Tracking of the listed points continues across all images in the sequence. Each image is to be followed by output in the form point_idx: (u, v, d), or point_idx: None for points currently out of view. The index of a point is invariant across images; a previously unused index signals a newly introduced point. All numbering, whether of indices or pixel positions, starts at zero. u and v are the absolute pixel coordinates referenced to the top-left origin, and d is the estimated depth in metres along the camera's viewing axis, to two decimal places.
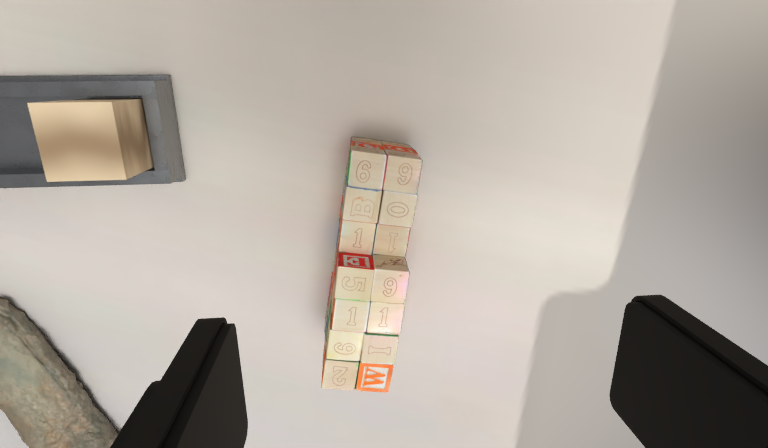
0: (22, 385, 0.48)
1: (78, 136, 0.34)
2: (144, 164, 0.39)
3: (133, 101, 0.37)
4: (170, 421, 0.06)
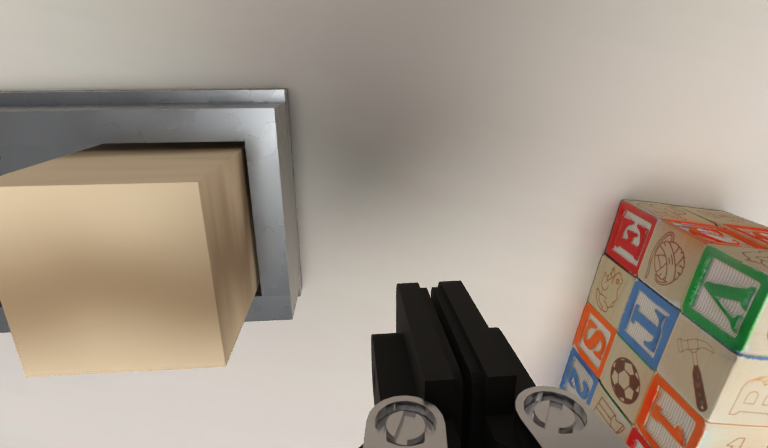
0: None
1: (105, 269, 0.13)
2: (248, 295, 0.17)
3: (232, 160, 0.15)
4: (444, 354, 0.08)
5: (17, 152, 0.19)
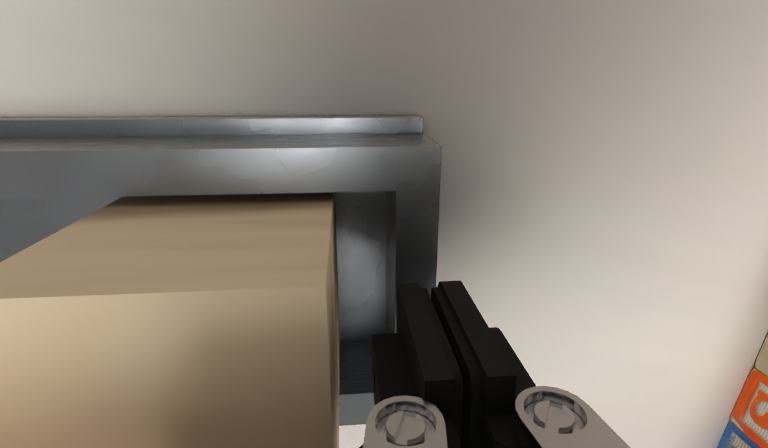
0: None
1: (164, 422, 0.08)
2: (338, 405, 0.12)
3: (331, 224, 0.11)
4: (444, 354, 0.08)
5: (68, 198, 0.14)
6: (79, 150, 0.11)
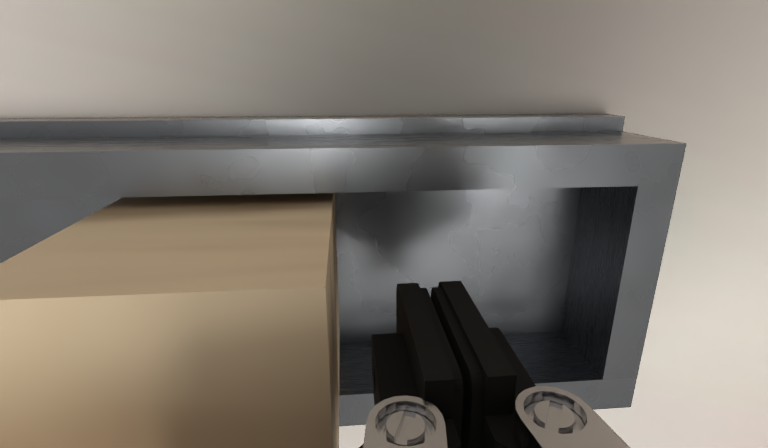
0: None
1: (164, 422, 0.08)
2: (338, 405, 0.12)
3: (331, 224, 0.11)
4: (445, 354, 0.08)
5: None
6: (357, 147, 0.12)
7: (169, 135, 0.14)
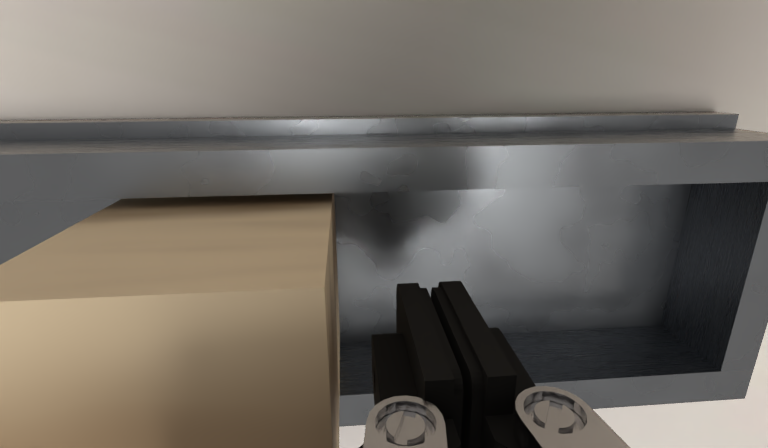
0: None
1: (163, 423, 0.08)
2: (338, 406, 0.12)
3: (330, 225, 0.11)
4: (444, 353, 0.08)
5: (410, 192, 0.15)
6: (510, 145, 0.12)
7: (302, 134, 0.14)
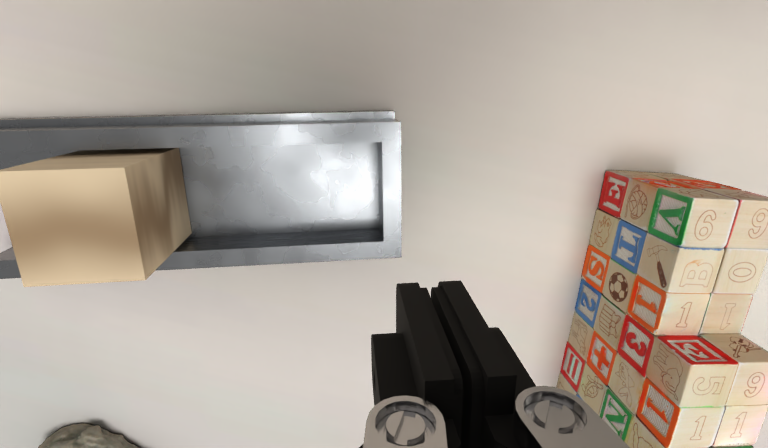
0: None
1: (72, 219, 0.22)
2: (168, 247, 0.27)
3: (153, 159, 0.25)
4: (444, 354, 0.08)
5: (225, 153, 0.30)
6: (249, 125, 0.27)
7: (165, 123, 0.29)
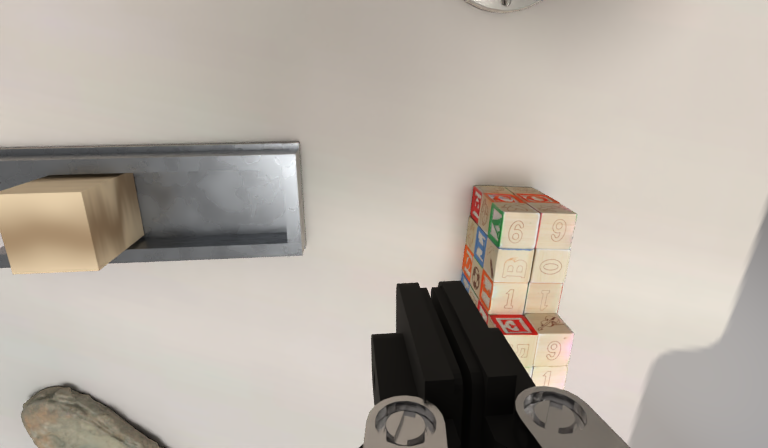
0: None
1: (46, 227, 0.32)
2: (120, 246, 0.36)
3: (107, 182, 0.35)
4: (445, 354, 0.08)
5: (168, 174, 0.39)
6: (180, 156, 0.36)
7: (122, 152, 0.38)
